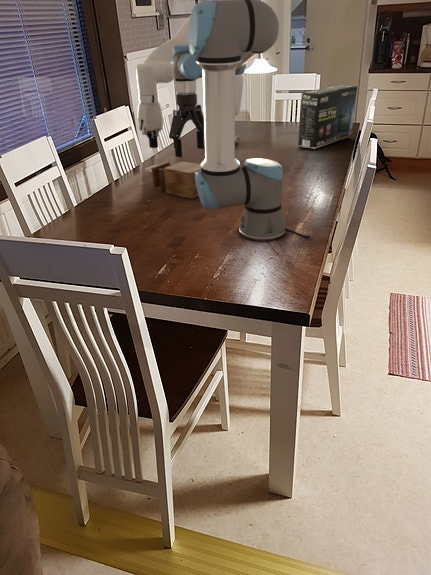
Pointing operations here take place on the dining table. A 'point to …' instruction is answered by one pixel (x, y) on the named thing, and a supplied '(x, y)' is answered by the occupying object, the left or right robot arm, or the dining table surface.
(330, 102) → the router box
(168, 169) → the wooden block
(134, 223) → the dining table surface
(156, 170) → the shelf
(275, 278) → the dining table surface
